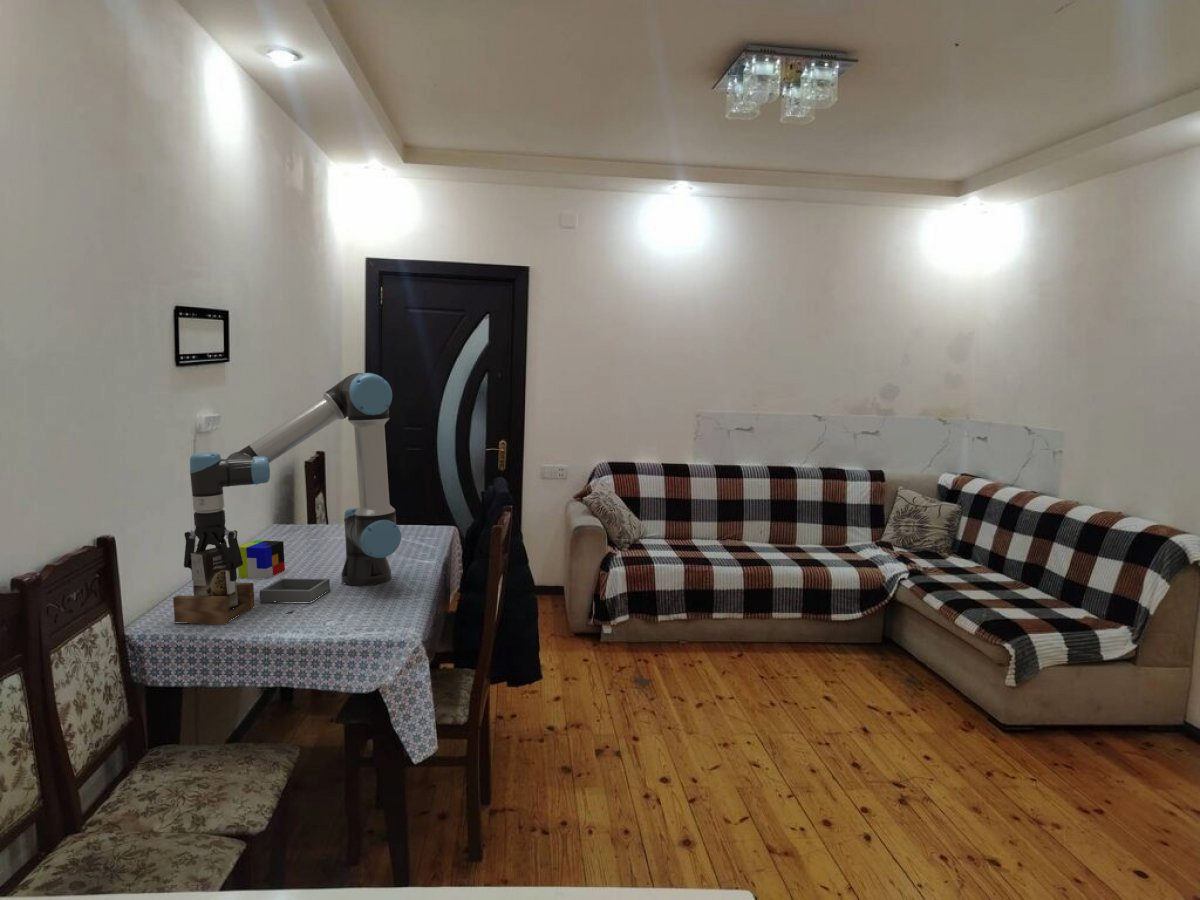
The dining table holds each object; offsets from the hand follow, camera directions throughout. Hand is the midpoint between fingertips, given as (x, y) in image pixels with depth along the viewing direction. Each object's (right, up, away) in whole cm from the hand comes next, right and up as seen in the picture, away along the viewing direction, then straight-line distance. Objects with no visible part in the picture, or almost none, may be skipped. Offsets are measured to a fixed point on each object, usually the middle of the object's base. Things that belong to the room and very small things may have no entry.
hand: (215, 592), depth 220 cm
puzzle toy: (-5, -2, +43) cm, 43 cm away
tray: (+15, -4, +17) cm, 23 cm away
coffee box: (0, -5, +1) cm, 5 cm away
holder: (0, -6, +1) cm, 6 cm away
